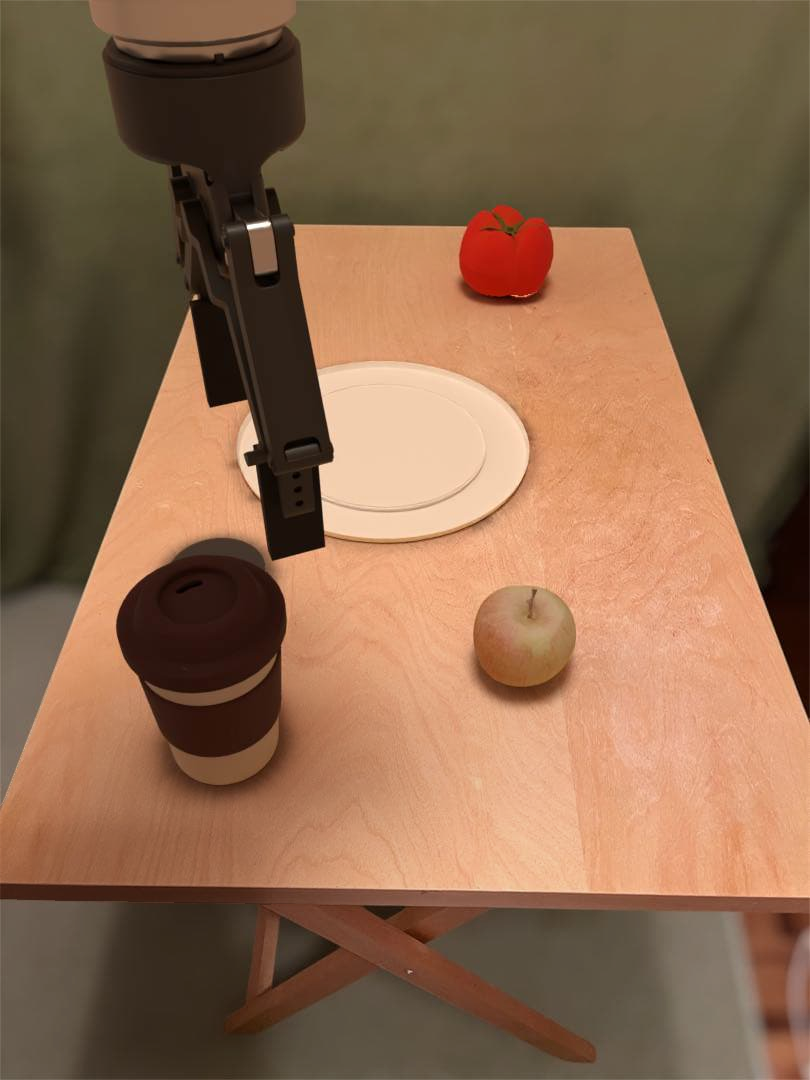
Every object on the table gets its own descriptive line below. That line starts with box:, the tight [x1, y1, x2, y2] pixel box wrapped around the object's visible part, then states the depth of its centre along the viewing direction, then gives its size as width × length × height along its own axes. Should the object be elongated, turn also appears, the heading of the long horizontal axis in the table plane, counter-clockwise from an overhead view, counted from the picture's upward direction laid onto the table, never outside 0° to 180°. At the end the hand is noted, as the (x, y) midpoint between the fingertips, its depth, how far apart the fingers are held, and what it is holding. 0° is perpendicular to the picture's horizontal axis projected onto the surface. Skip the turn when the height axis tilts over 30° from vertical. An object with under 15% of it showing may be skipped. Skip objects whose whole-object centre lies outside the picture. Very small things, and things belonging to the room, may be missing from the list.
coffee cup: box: [115, 555, 288, 786], centre depth 58 cm, size 10×10×15 cm
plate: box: [236, 360, 530, 544], centre depth 88 cm, size 28×28×1 cm
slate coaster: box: [170, 537, 267, 572], centre depth 75 cm, size 8×8×1 cm
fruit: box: [472, 585, 577, 688], centre depth 66 cm, size 8×7×8 cm
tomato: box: [458, 204, 555, 299], centre depth 109 cm, size 11×12×9 cm
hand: (261, 468), depth 49 cm, fingers open, 13 cm apart
